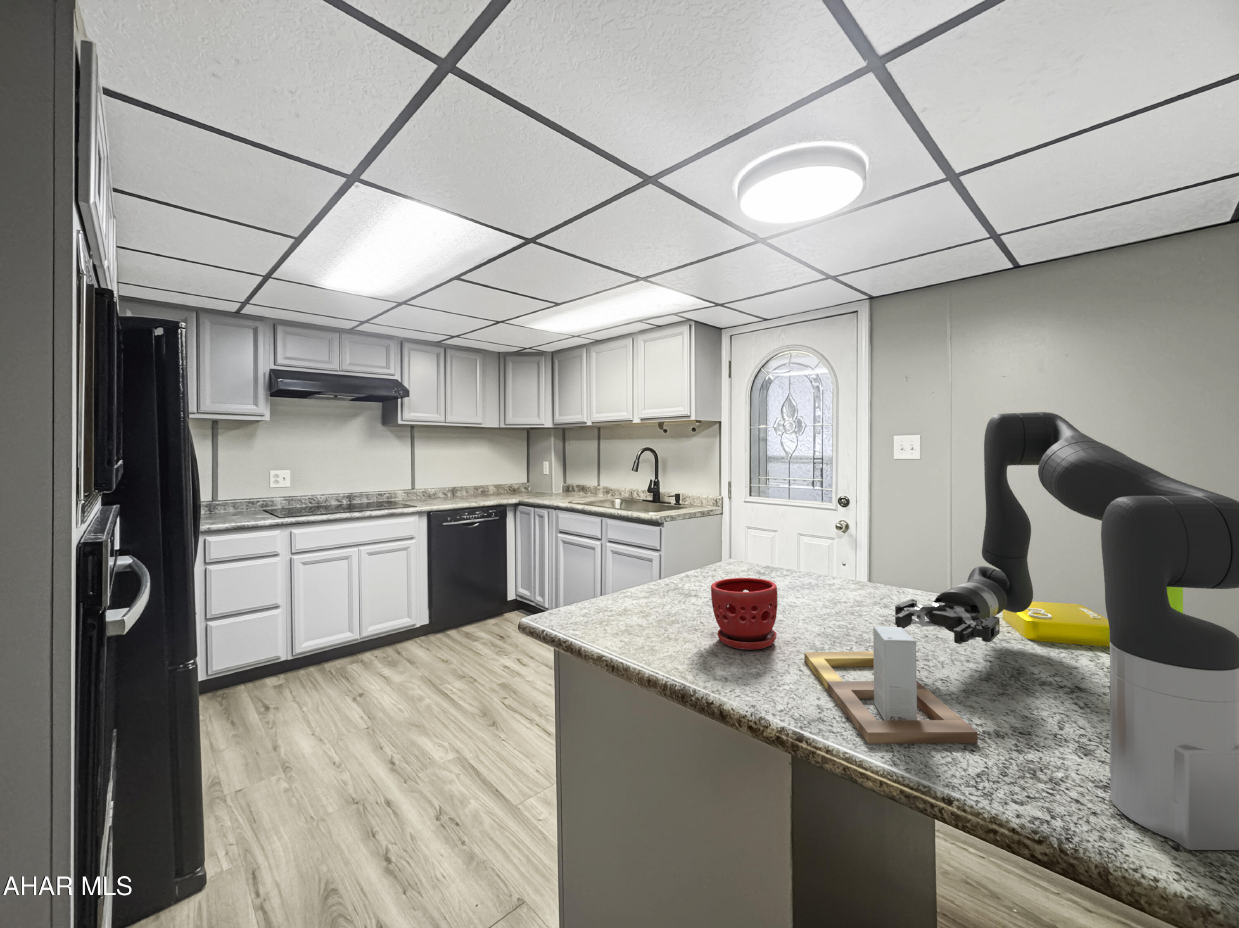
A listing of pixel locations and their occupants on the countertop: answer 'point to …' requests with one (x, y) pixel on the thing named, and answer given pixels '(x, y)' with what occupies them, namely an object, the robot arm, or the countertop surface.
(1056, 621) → the element tile
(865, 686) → the double wooden frame
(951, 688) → the countertop surface
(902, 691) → the skincare box
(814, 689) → the countertop surface
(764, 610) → the plant pot
